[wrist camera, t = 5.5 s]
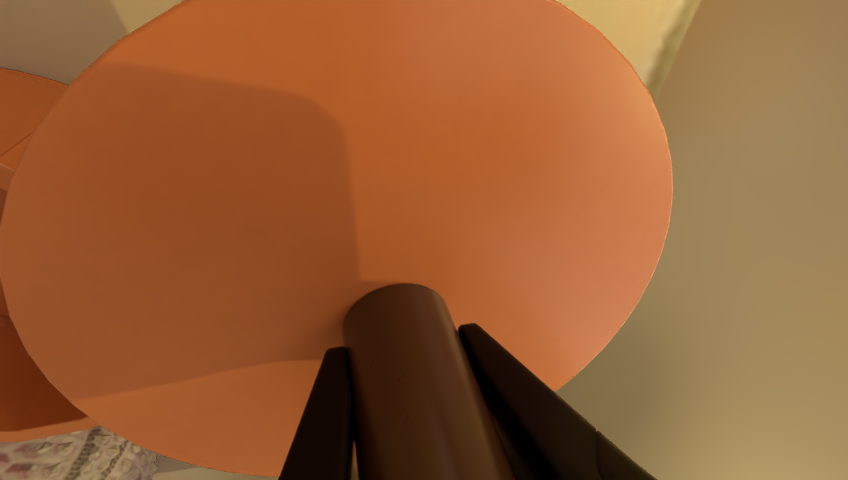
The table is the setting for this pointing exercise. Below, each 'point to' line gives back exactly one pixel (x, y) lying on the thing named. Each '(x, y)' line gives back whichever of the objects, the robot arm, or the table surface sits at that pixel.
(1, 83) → the pot
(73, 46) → the table surface
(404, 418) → the lid
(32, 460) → the sea urchin shell
